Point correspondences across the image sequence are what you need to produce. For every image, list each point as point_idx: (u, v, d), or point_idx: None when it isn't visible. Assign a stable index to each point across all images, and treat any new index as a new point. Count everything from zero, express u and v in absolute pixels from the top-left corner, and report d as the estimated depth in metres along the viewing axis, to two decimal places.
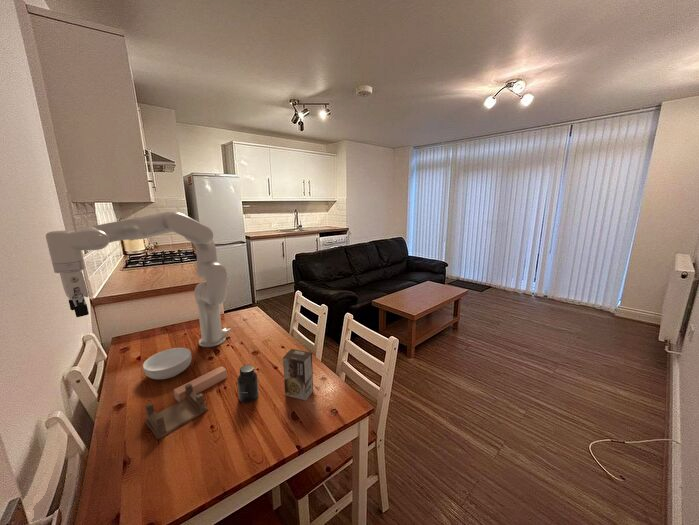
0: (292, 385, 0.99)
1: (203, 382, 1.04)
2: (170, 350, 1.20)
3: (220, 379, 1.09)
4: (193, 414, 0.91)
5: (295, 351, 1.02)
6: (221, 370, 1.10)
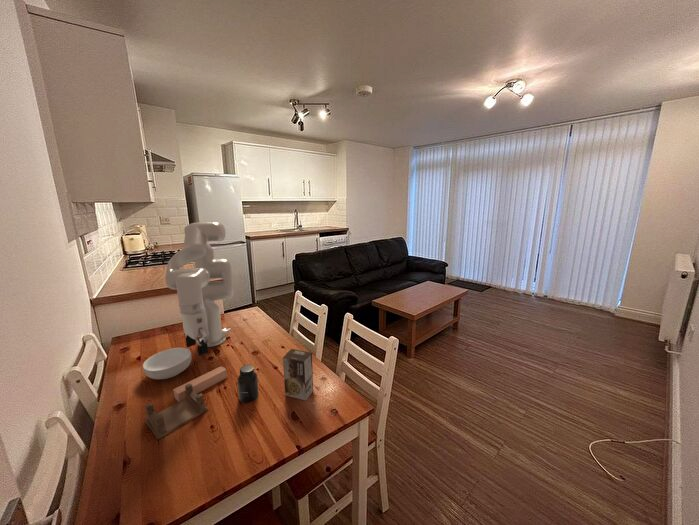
0: (292, 385, 0.99)
1: (203, 381, 1.04)
2: (170, 350, 1.20)
3: (220, 379, 1.09)
4: (193, 414, 0.91)
5: (295, 351, 1.02)
6: (221, 370, 1.10)
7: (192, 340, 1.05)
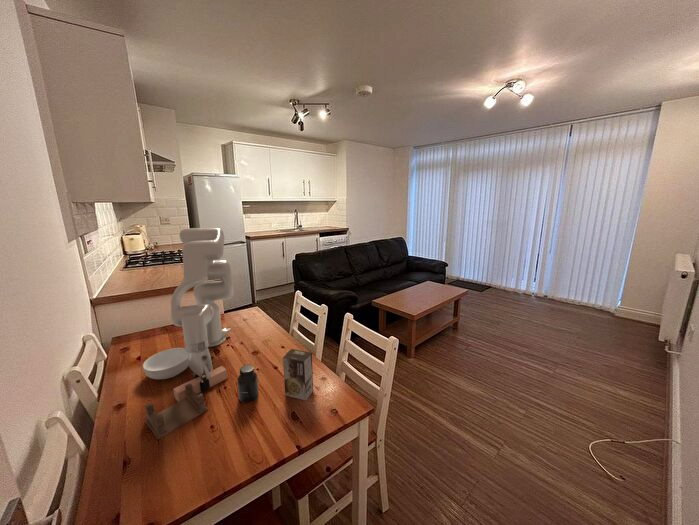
0: (292, 385, 0.99)
1: None
2: (170, 350, 1.20)
3: (220, 379, 1.09)
4: (193, 414, 0.91)
5: (295, 351, 1.02)
6: (221, 370, 1.10)
7: None
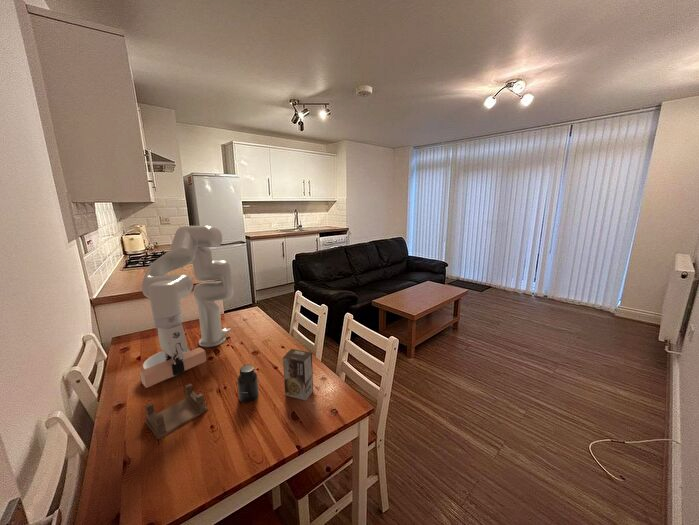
0: (292, 385, 0.99)
1: None
2: None
3: (198, 362, 0.94)
4: (193, 414, 0.91)
5: (295, 351, 1.02)
6: (199, 351, 0.95)
7: None
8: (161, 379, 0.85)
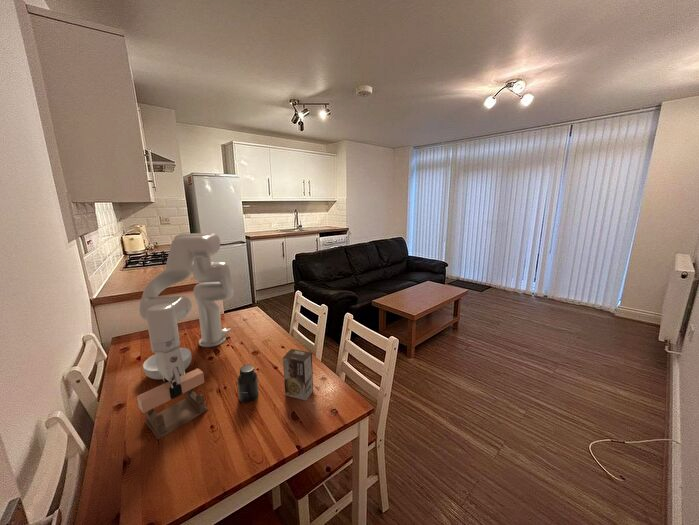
0: (292, 385, 0.99)
1: None
2: None
3: (195, 384, 0.93)
4: (193, 414, 0.91)
5: (295, 351, 1.02)
6: (197, 373, 0.94)
7: None
8: (158, 403, 0.85)
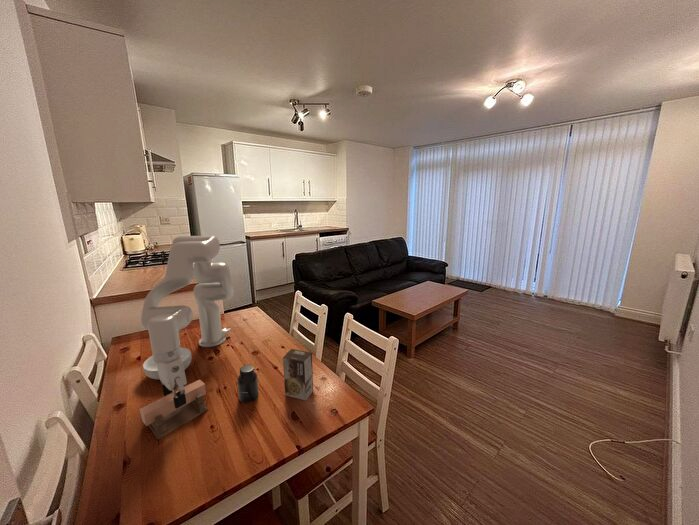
0: (292, 385, 0.99)
1: None
2: None
3: None
4: (193, 414, 0.91)
5: (295, 351, 1.02)
6: (199, 385, 0.95)
7: None
8: None
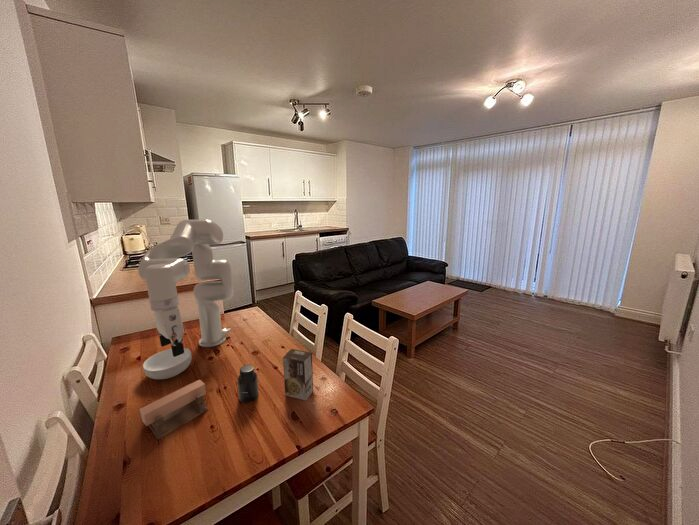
0: (292, 385, 0.99)
1: (176, 399, 0.89)
2: (170, 350, 1.20)
3: None
4: (193, 414, 0.91)
5: (295, 351, 1.02)
6: (199, 385, 0.95)
7: (167, 339, 0.94)
8: None
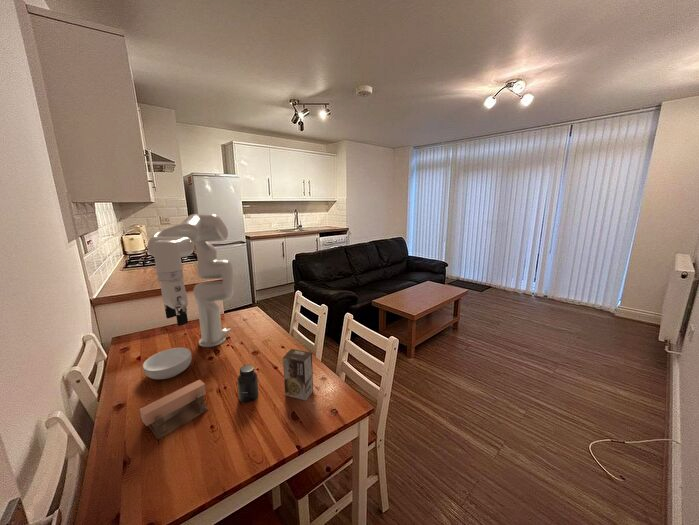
0: (292, 385, 0.99)
1: (176, 399, 0.89)
2: (170, 350, 1.20)
3: None
4: (193, 414, 0.91)
5: (295, 351, 1.02)
6: (199, 385, 0.95)
7: (172, 311, 1.01)
8: None
